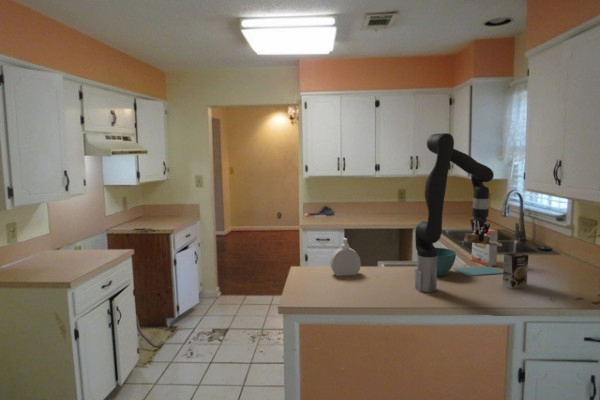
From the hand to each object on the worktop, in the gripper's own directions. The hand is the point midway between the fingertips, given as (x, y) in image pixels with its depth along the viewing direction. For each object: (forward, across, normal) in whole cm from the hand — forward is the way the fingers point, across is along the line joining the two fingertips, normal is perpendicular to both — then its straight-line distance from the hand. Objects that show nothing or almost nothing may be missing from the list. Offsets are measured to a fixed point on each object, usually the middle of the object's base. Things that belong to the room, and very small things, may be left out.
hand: (479, 240), depth 202 cm
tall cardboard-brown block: (+2, 0, +1) cm, 2 cm away
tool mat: (+21, -12, +8) cm, 26 cm away
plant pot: (+21, -15, -14) cm, 30 cm away
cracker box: (+21, -27, +21) cm, 40 cm away
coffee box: (+21, +12, +12) cm, 27 cm away
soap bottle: (+22, -24, -64) cm, 71 cm away
